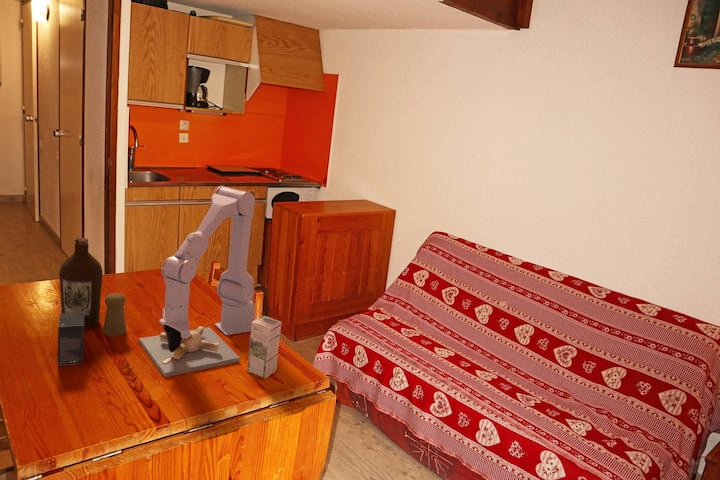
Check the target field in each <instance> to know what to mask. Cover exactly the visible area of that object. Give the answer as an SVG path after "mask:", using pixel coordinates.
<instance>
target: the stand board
mask: <svg viewBox="0 0 720 480" xmlns="http://www.w3.org/2000/svg"><path fill="white" fill-rule="evenodd" d="M196 329H197V328H196ZM196 329H190V331H195V330H196ZM201 339H202V340H207V341H213V342H218V343H219V350H218V351H217V352H215V351H210V350H205V349H199V350H198V351H195V352H185V353H184V354H183V355H182V356H181V358H180V359H175V358H174V352H170V351H169V346H168V343H167V342H162V341H160V334H159V335H152V336H146V337H140V338H139V340H138V341H139V342H138V343H139V344H140V346H141V347H142V349H143V350H144V351H145V353H146V354H147V355H148V357H149V359H150V360H151V361H152V362H153V364H154V365H155V367H157V369H158V371H159V372H160V373H161V375H162V376H163V378H168V377H173V376H178V375H181V374H186V373H187V374H188V373H192V372H197V371H201V370H206V369H212V368H215V367H221V366H225V365H229V364H230V365H231V364H234V363H238V362H240V356H239V355H238V354H237V353H236V352H235V351H234V350H233V349H232V348H231V347H230V346H229V345H228V344H227V343H226V342H225V341H224V340H223V339H222V338H221V337H220V336H219V335H218V334H217V333H216V332H215V331H214V330H213V329H212V328H211V327H210V326H207V327H204V334H203V335H202V337H201Z"/></svg>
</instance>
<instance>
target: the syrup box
mask: <svg viewBox="0 0 720 480" xmlns="http://www.w3.org/2000/svg"><path fill="white" fill-rule="evenodd" d="M281 328H282V321H280V320H277V319H275V318H272V317H270V316H266V315H262V316H259V317H258V318H255V319H254V321H253V322H252V325H251V331H250V338H249V347H248V348H249V349H248V360H247V370H246V371H247V373H250V374H252V375H255V376H257V377H259V378H261V379H266V378H268V377H269V376H271V375H272V374H274V373H275V372H276V371H277V366H278V354H279V349H280V348H279V346H280V337H281V330H282V329H281Z"/></svg>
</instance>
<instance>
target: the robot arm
mask: <svg viewBox="0 0 720 480" xmlns="http://www.w3.org/2000/svg"><path fill="white" fill-rule="evenodd" d="M255 200H256V198H255V197H254V195H253V194H252V193H251V192H249V191H244V190H240V189H236V188H231V187H227V186H225V185H220V186H218V187H217V188H216V189H215V191H214V194H212V195H211V200H210V201H211V203H210V204H211V205H210V208H209V209H208V211H207V213H206V215H205V217H203V220H202V221H201V223H200V225H199V227H198V228H197V230H196V231H194V232H190V233H189V234H188V236H186V238H185V239H184V241H183V242H182V244H181V245H180V247H178V249H177V251H176V252H175V253H174V255H171V256H170V257H168V258H166V259H165V260H164V262H163V264H162V267H161V268H160V271H161V275H162V276H163V278H164V279H163V282H164V284H165V294H164V295H165V297H164V300H165V301H164V307H163V308H162V310H161V311H162V313H161V315H162V316H163V317H162V318H160V319H159V321H158V322H159V323H160V325H162V328H163V330H164V333H166V336H167V340H168V346H169V351H170V352H174V351H175V350H176V349H177V348H178V347H179V346H180V343H181V340H182V338H185V337H190V330H191V329H190V324H189V323H190V322H189V307H190V306H189V305H190V304H189V303H190V287H191V281H192V280H193V279H194V278H195V276H196V273H197V269H198V266H199V261H200V259H201V258H202V257H203V255H204V253H205V252H206V251H207V249H208V248H209V247H210V243H209V242H210V241H209V239H210V237H211V236H212V235H213V234H214V233H215V231H216V230H217V228H218V227H219V226H220V225H221V224H222V223H223V221H224V220H225V219H227V218H231V219H232V220H231V221H232V223H231V230H230V231H231V233H230V242H229V243H230V244H229V253H228V254H229V255H228V263H227V264H228V265H227V270H226V271H223V272H222V273H221V274H220V276H219V277H220V278H219V282H218V284H217V287H216V290H217V291H216V292H217V294H218V296H219V297H220V301H221V302H222V304H221V313H220V315H221V316H220V322H216V323H215V324H214V326H215V327H216V328H218V329H219V331H221V333H223V334H224V335H225V336H232V335H237V334H242V333H248V332H251V325H252V322H253V321H254V320H255V316H256V315H255V314H256V307H255V303H254V301H253V298H254V296H255V286H254V278H253V276H251V274H250V273H249V272H248V271H247V265H248V257H249V255H248V254H249V249H250V248H249V246H250V237H251V227H252V219H253V218H254V214H255V212H254V211H255V203H256V202H255Z"/></svg>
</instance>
